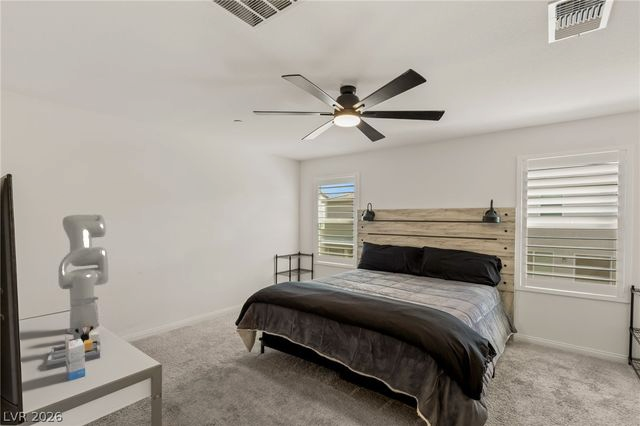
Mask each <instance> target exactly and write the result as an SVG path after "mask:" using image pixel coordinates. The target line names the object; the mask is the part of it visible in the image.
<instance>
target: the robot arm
mask: <svg viewBox="0 0 640 426" xmlns="http://www.w3.org/2000/svg"><path fill="white" fill-rule="evenodd" d="M62 226H63V227H62V228H63V230H64V232H65V234H66V236H67V238H68V240H69V253H67V254H66V255H65V256H64V257H63V258H62V259H61V261H60V263H59V266H58V286H59V288H60V289H62V290H69V291H68V292H69V304H70V305H69V306H70V307H69V308H70V311H69V328H68V329H66V330H67V331H66V333H68V334H72V335H73V332H77V333H78V334H80V338H81V340H82V341H83V343H84V341H85V340H90V333H91V332H92V330H94V329H96V328H99V327H100V323H99V311H98V310H99V308H98V304H97V302H96V301H97V300H99V296H95V288H94V287H96V286H101V285H105V284H107V283H108V281H109V262H108V252H107V250H106V248H104V247H102V246H98V247H95V246H94V247H93V242H92V241H93V240H92V239H93V238H103V237H104V236H105V235H106V232H107V231H106V230H107V227H106V222H105V218H104V217H103V215H101V214H72V215H71V214H70V215H67V216H65V217H63V218H62ZM70 264H71V265H72V266H73V267H88V266H95V267H91V268H89V267H88V268H77V269H73V270H71V271H67V268H68V266H69V265H70ZM96 266H97V267H96ZM84 327H87V330H86V332H85V333H84V332H83V328H84Z"/></svg>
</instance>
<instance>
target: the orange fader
mask: <svg viewBox="0 0 640 426" xmlns="http://www.w3.org/2000/svg"><path fill="white" fill-rule="evenodd" d="M84 348H85V351H86V352H88V351H90V350H92V339H91V338H89V340H85V341H84Z"/></svg>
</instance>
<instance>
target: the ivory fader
mask: <svg viewBox="0 0 640 426" xmlns="http://www.w3.org/2000/svg"><path fill="white" fill-rule="evenodd" d="M99 332H100V331H99V330H96V331H90V339H92V342H93V343H95V342H97V341H99V338H100V336H99V335H100V334H99Z"/></svg>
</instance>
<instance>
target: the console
mask: <svg viewBox="0 0 640 426" xmlns="http://www.w3.org/2000/svg"><path fill="white" fill-rule="evenodd" d="M100 358H101V338H100V337H99V341H97V342H95V343H93V342H92V350H90V351H88V352H86V351H85V362H90V361H94V360H98V359H100ZM64 367H66V346H65V344H64V345H61V346H52V347H51V350H50V355H48V357H47V362H46V368H45V369H46V371H51V370H55V369H59V368H64Z"/></svg>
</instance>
